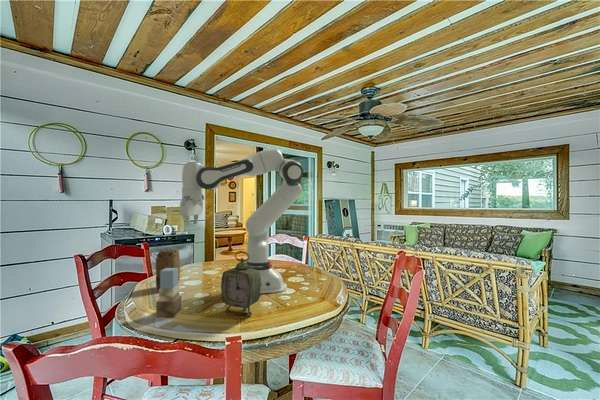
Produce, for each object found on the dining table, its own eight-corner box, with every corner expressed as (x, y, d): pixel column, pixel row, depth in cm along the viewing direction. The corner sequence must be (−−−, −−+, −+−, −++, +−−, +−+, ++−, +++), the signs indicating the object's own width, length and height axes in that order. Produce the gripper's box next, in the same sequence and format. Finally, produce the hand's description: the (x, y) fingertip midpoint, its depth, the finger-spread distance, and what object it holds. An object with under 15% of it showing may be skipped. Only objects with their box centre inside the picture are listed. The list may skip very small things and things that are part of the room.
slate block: (178, 284, 116) (178, 267, 116) (172, 288, 111) (173, 271, 111) (165, 284, 116) (166, 267, 116) (160, 288, 111) (160, 271, 111)
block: (180, 285, 150) (181, 248, 150) (173, 290, 143) (174, 251, 143) (161, 285, 151) (161, 248, 151) (153, 290, 143) (153, 250, 143)
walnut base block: (181, 310, 117) (181, 296, 117) (174, 317, 110) (174, 302, 110) (164, 310, 117) (164, 296, 117) (156, 317, 110) (156, 302, 110)
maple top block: (179, 296, 116) (179, 284, 116) (172, 301, 111) (172, 289, 111) (165, 296, 117) (165, 284, 117) (159, 301, 111) (159, 288, 111)
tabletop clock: (221, 312, 115) (221, 251, 115) (234, 305, 123) (234, 248, 123) (250, 318, 109) (251, 254, 109) (263, 310, 118) (263, 250, 118)
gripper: (190, 195, 125) (190, 226, 125) (205, 196, 145) (205, 223, 145) (175, 195, 124) (175, 226, 124) (192, 196, 145) (192, 223, 145)
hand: (191, 224), depth 135 cm, fingers open, 8 cm apart
